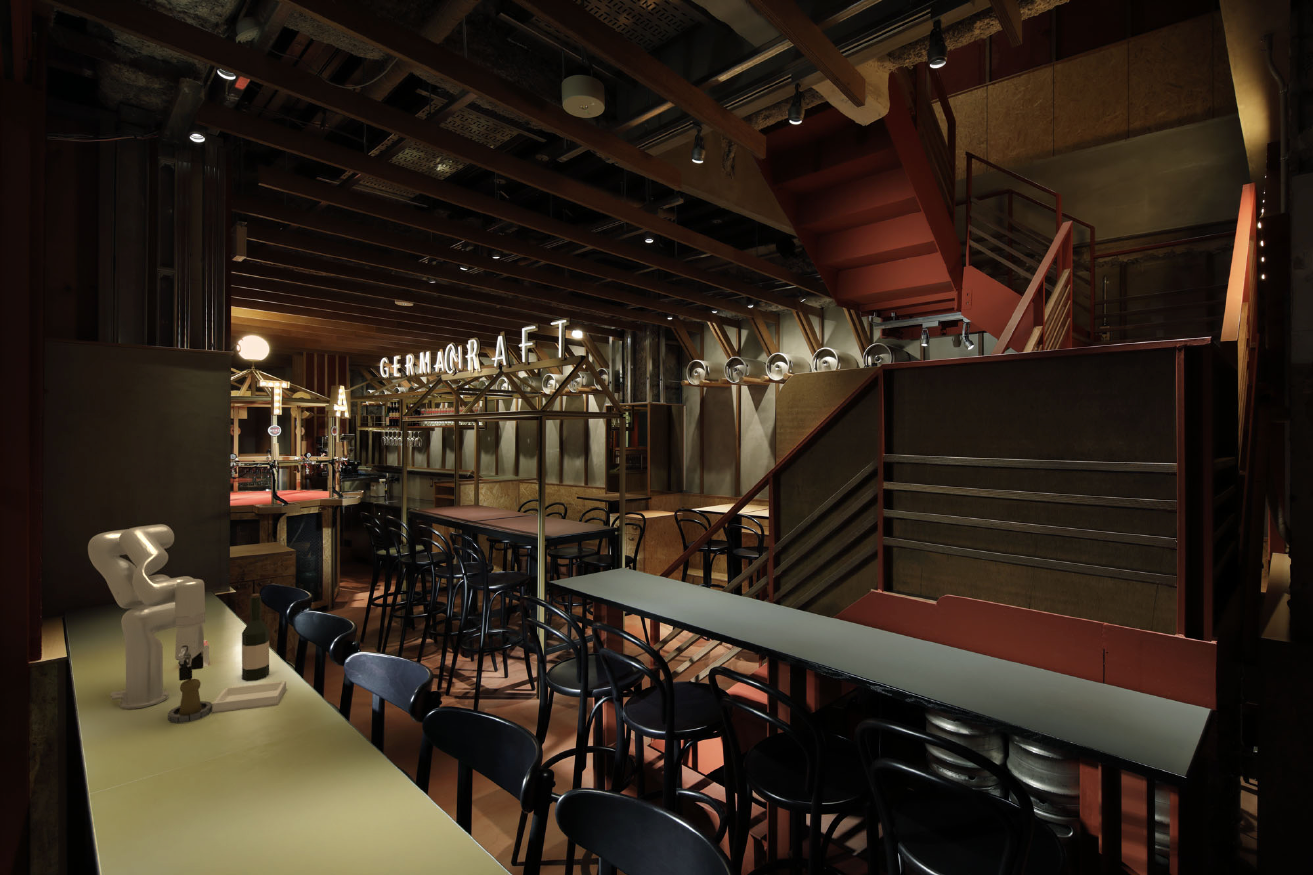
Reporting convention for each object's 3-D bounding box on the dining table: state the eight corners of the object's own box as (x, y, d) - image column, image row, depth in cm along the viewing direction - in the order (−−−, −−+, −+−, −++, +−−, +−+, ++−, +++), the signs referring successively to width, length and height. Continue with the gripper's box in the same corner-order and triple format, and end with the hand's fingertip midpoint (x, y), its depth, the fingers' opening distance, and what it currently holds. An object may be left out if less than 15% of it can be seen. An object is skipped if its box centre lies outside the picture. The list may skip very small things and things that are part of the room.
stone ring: (162, 725, 191) (162, 718, 191) (176, 710, 201) (176, 704, 201) (205, 719, 194) (205, 713, 194) (216, 705, 205) (216, 699, 205)
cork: (186, 711, 200) (186, 676, 200) (206, 710, 201) (206, 676, 201) (173, 719, 194) (173, 684, 194) (194, 719, 195) (194, 683, 195)
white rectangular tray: (212, 712, 199) (212, 703, 199) (225, 696, 212) (225, 687, 212) (277, 704, 205) (277, 695, 205) (286, 689, 217) (286, 680, 217)
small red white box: (183, 670, 235) (182, 649, 235) (181, 664, 241) (181, 644, 241) (209, 665, 240) (209, 644, 240) (206, 659, 246) (206, 639, 246)
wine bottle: (256, 682, 224) (255, 598, 224) (236, 680, 226) (236, 596, 225) (274, 673, 232) (274, 592, 232) (255, 671, 234) (255, 591, 233)
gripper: (186, 614, 204) (187, 666, 204) (164, 628, 188) (166, 686, 188) (213, 611, 207) (214, 663, 207) (194, 625, 190) (195, 682, 190)
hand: (191, 674), depth 197 cm, fingers open, 9 cm apart
